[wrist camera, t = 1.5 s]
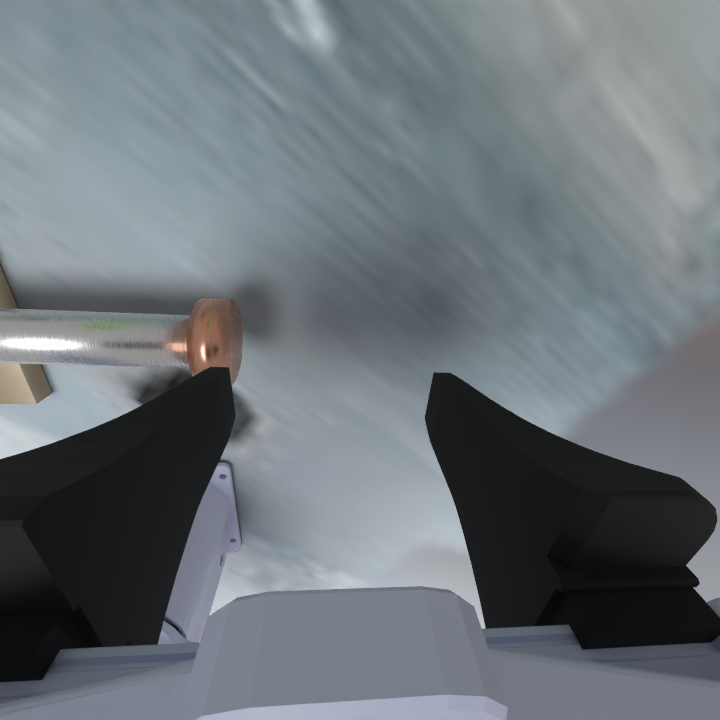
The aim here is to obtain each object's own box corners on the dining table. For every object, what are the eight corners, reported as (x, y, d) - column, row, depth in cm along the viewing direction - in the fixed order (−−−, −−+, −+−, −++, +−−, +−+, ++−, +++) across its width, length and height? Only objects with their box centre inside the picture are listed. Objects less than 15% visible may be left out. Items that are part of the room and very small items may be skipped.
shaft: (238, 289, 16) (212, 315, 13) (245, 361, 18) (224, 402, 14) (-191, 269, 14) (-363, 294, 11) (-137, 352, 16) (-269, 396, 13)
